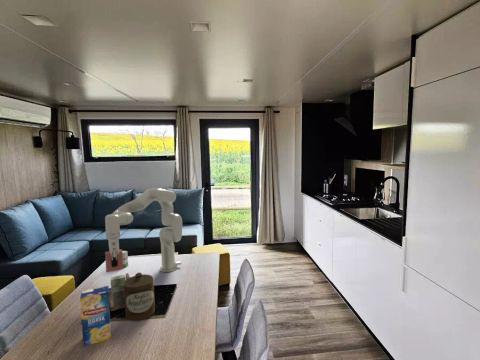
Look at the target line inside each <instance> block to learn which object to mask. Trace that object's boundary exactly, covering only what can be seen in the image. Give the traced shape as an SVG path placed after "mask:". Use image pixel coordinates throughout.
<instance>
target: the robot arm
mask: <svg viewBox="0 0 480 360" xmlns="http://www.w3.org/2000/svg"><path fill="white" fill-rule="evenodd" d="M176 199H177V194H176V193H175V192H174V191H172V190H167V189H165V188H164V189H162V188H156V187H154V188H153V187H151V188H150V187H149V188H148V189H145V191H144V192H142V193H141V194H140V195H138V196H137V197H136V198H135V199H133V200H130V201H129V202H126V203H125V204H122V205H121V206H119V207H118V208H117V209H116V210H114V211H113V212H112V213H110V214H107V215H106V216H105V217H104V221H105V222H104V223H105V225H104V226H105V239H107V240H108V249H109V250H108V251H110V255H111V256H112V260H111V263H112V267H116V266H118V261H117V254H118V255H119V250H120V241H119V238H121V230H120V229H121V227H120V226H126V225H130V224H131V223H133V220H134V216H133V214H132V213H134V212H139V211H142V210H145V209H146V208H147V207H148V206H149V205H150V204H151V203H152V202H154V201H155V202H158V203H159V204H160V207H161V223H162V225H163V226H165V227H162V228H161V229H160V230H159V233H158V236H159V241H160V250H161V251H160V252H161V267H159V271H160V272H162V273H170V272H174V271H176V270H177V269H178V266H181V265H182V262H181V261H175V259H176V258H175V256H176V255H175V244H174V243H178V242H180V241H181V239H182V236H183V219H182V216H181V215H180V214H178V213H175V212H174V205H173V203H174V202H175V201H176ZM112 254H113V255H112Z"/></svg>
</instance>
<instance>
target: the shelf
mask: <svg viewBox="0 0 480 360" xmlns="http://www.w3.org/2000/svg"><path fill="white" fill-rule="evenodd" d="M128 278H130V274H129V272H128V273H125V274H120V275H116V276H112V277H110V289H109V308H110V312H114V311H117V310H121V309H123V308H124V309H125V290H124V282H125V281H126V280H127V279H128Z"/></svg>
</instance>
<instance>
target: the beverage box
mask: <svg viewBox="0 0 480 360" xmlns="http://www.w3.org/2000/svg"><path fill="white" fill-rule="evenodd" d="M109 290H110V287H109V285H106V286H105V285H104V286H102V287H96V288H90V289H86V290H82V291H81V292H80V293H81V294H80V311H81V312H80V314H81V330H82V331H81V332H82V333H81V334H82V347H87V346H90V345H93V344H97V343H101V342H103V341H107V340H111V339H112V336H111V335H112V334H111V333H112V332H111V331H112V329H111V308H110V302H109Z"/></svg>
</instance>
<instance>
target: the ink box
mask: <svg viewBox="0 0 480 360" xmlns="http://www.w3.org/2000/svg"><path fill="white" fill-rule="evenodd" d="M128 256H129V255H128V251H127V250H122V257H123V269H124V268H127V267H128V266H129V260H128V258H129V257H128Z"/></svg>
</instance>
